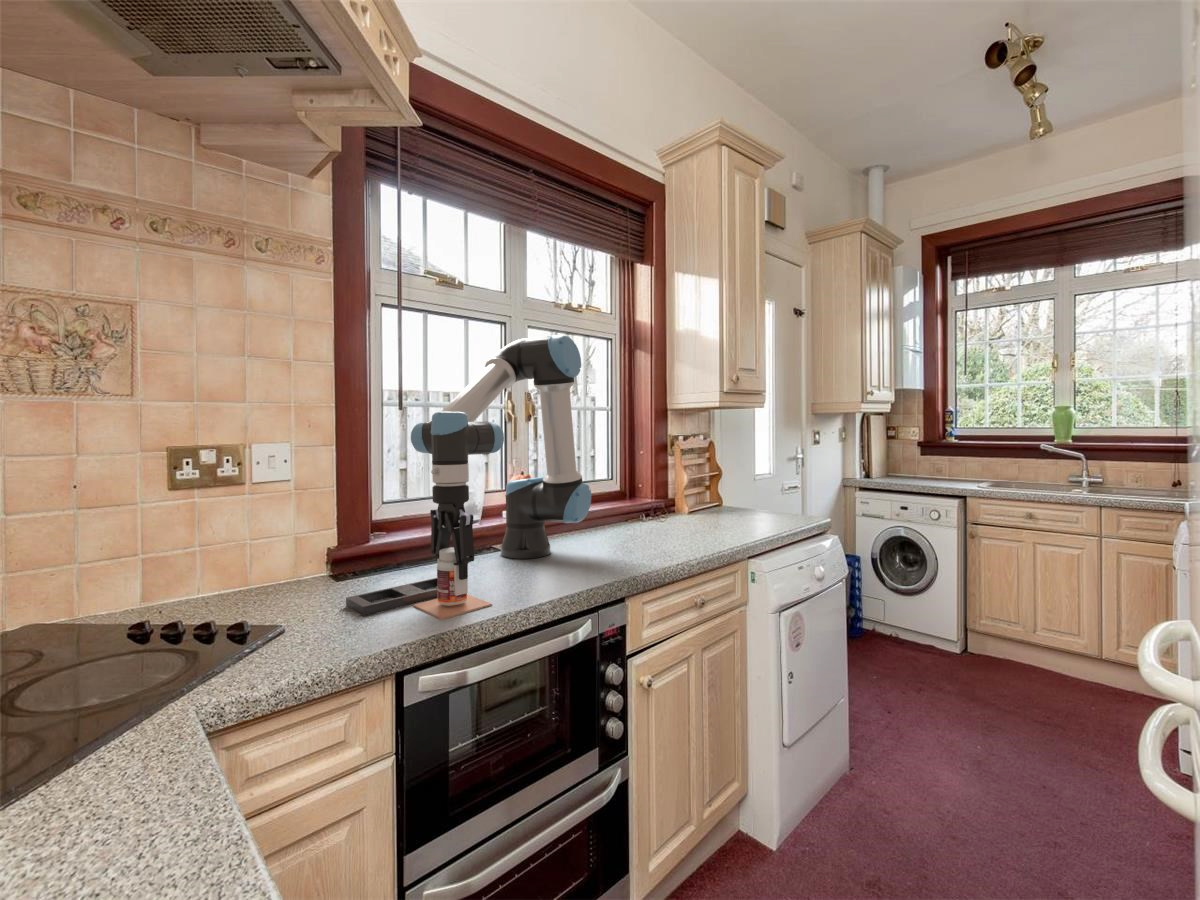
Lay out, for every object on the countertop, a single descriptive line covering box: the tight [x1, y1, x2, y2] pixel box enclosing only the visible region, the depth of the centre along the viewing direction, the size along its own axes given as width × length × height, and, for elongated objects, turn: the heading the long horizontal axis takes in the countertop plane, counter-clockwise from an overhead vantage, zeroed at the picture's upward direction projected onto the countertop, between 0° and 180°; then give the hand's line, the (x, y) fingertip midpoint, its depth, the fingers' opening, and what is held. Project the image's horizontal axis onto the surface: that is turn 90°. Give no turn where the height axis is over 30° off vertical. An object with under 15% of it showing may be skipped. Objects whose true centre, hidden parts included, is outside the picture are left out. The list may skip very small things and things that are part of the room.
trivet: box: [412, 594, 493, 621], centre depth 117 cm, size 12×12×1 cm
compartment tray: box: [345, 577, 438, 617], centre depth 122 cm, size 24×9×2 cm, turn 136°
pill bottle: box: [436, 546, 468, 606], centre depth 117 cm, size 6×6×11 cm
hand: (452, 590), depth 117 cm, fingers closed on pill bottle, 6 cm apart
